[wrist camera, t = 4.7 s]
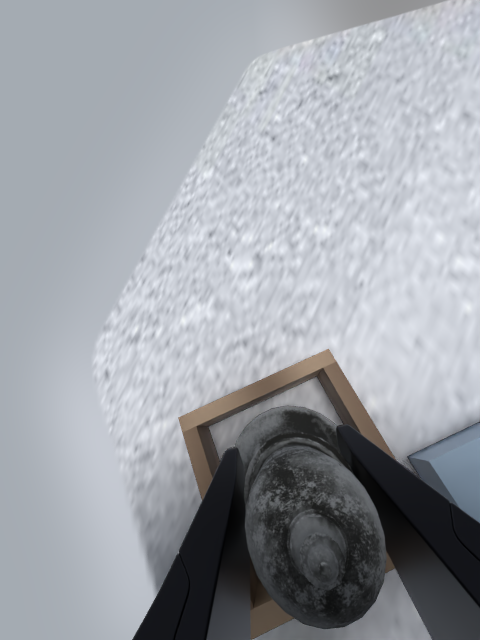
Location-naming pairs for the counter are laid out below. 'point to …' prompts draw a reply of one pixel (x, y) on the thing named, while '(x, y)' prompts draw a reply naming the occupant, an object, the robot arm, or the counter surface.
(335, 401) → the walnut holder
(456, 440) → the slate tray
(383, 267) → the counter surface
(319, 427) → the grey stone chess piece
